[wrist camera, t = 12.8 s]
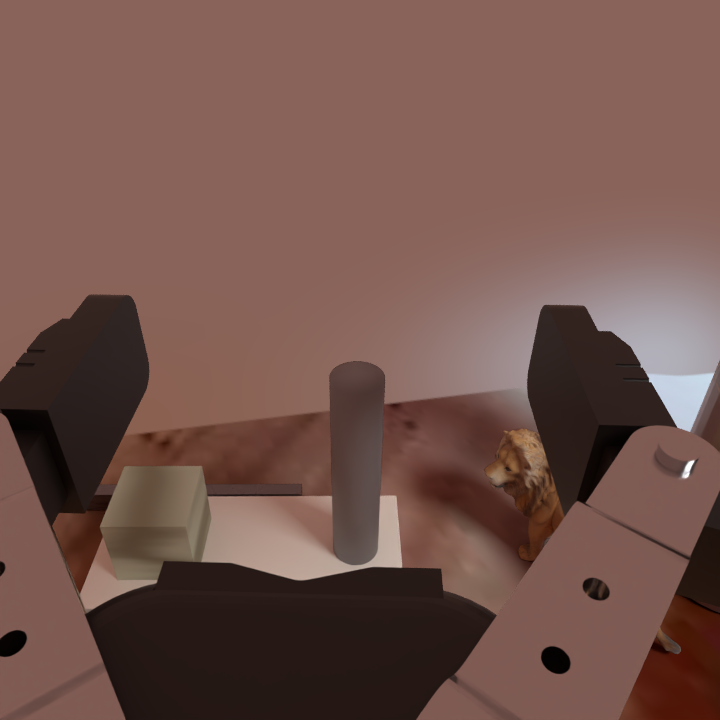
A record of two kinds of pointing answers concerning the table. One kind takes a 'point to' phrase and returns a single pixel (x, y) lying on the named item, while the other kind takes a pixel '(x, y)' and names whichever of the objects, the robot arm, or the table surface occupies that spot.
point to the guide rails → (209, 492)
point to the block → (156, 519)
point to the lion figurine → (535, 494)
